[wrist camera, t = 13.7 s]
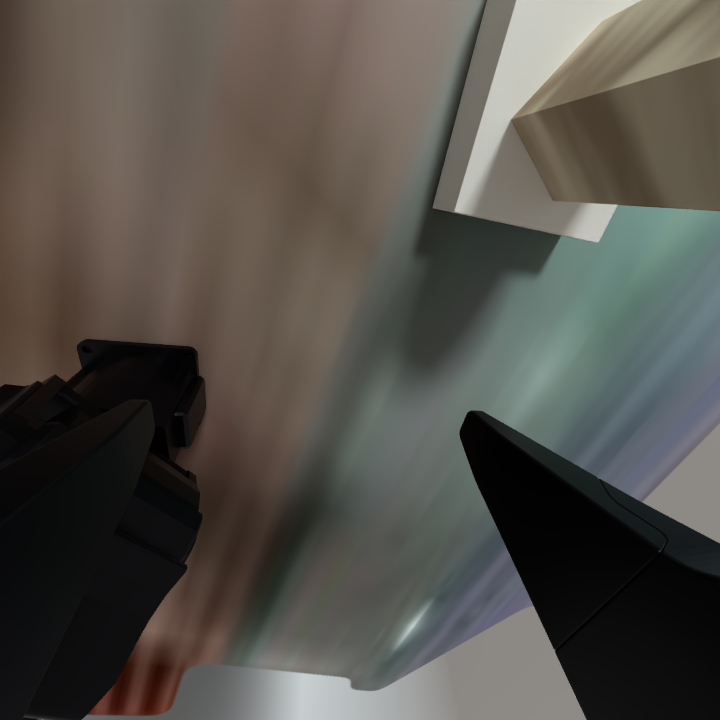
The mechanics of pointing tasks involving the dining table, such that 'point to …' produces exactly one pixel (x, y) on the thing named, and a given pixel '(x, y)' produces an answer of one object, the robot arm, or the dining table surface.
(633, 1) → the off-white base block
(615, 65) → the maple pillar block
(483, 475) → the robot arm
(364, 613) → the dining table surface
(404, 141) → the dining table surface
